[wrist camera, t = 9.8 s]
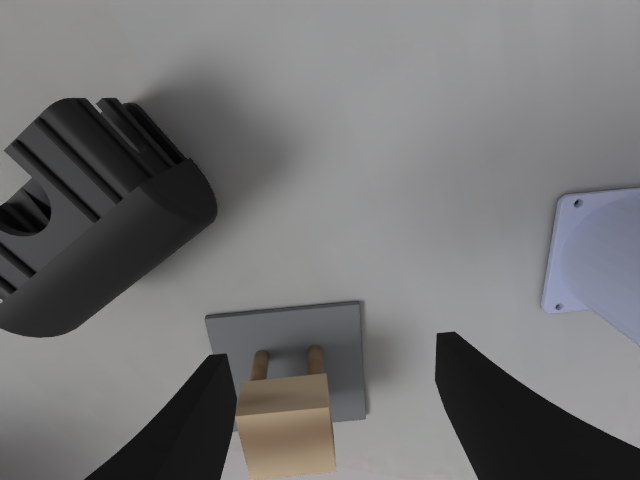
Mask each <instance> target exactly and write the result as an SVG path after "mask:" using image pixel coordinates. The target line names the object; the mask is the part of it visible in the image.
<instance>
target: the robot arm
mask: <svg viewBox="0 0 640 480" xmlns="http://www.w3.org/2000/svg"><path fill="white" fill-rule="evenodd" d="M576 200H578V203H577V204H576V205H575V206H574V203H575V201H576ZM557 304H559V305H558V306H557V307H556V305H557ZM541 308H542V310H543V311H544V312H546V313H548V314H552V313H563V312H573V311H584V310H592V311H593V312H594V313H596V314H597V315H598V316H600V317H601V318H602V319H604V320H605V321H606V322H608V323H609V324H610V325H612V326H613V327H614V328H616V329H617V330H618V331H620V332H621V333H622V334H623V335H625V336H626V337H627V338H629V339H630V340H631V341H633V342H634V343H635V344H637V345H638V346H639V347H640V187H639V188H629V189H618V190H608V191H598V192H587V193H577V194H567V195H564V196H562V197H561V198H560V199H559V200H558V203H557V209H556V215H555V222H554V228H553V234H552V240H551V246H550V252H549V259H548V265H547V271H546V277H545V283H544V290H543V296H542V302H541ZM435 382H436V385H437V388H438V391H439V394H440V397H441V400H442V403H443V405H444V408H445V411H446V413H447V415H448V417H449V419H450V421H451V423H452V425H453V428H454V430H455V432H456V434H457V436H458V438H459V440H460V442H461V444H462V446H463V448H464V451H465V453H466V455H467V457H468V459H469V461H470V463H471V465H472V467H473V469H474V471H475V473H476V475H477V478H478V480H640V449H639V448H637V447H635V446H632V445H630V444H628V443H626V442H624V441H622V440H620V439H618V438H616V437H613V436H611V435H609V434H607V433H605V432H604V431H602V430H600V429H598V428H596V427H594V426H592V425H590V424H588V423H586V422H584V421H582V420H580V419H579V418H577V417H575V416H573V415H571V414H570V413H568V412H566V411H565V410H563V409H561V408H560V407H558V406H556V405H555V404H553V403H551V402H549V401H548V400H546V399H545V398H543V397H541V396H540V395H538V394H537V393H535V392H534V391H532V390H531V389H529V388H528V387H526V386H525V385H523V384H522V383H521V382H519V381H518V380H516V379H515V378H513V377H512V376H511V375H509V374H508V373H506V372H505V371H504V370H502V369H501V368H500V367H498V366H497V365H496V364H495V363H493V362H492V361H491V360H489V359H488V358H487V357H486V356H484V355H483V354H482V353H481V352H479V351H478V350H477V349H476V348H474V347H473V346H472V345H471V344H469V343H468V342H467V341H466V340H464V339H463V338H462V337H461V336H460V335H458V334H457V333H456V332H446V333H437V341H436V368H435ZM236 406H237V395H236V391H235V386H234V382H233V378H232V373H231V369H230V365H229V361H228V356H227V353H224V354H214V355H209V356H208V357H207V358H206V359H205V360H204V361H203V363H202V364H201V365H200V366H199V367H198V368H197V370H196V371H195V372H194V373H193V374H192V376H191V377H190V378H189V379H188V380H187V382H186V383H185V384H184V385H183V386H182V387H181V389H180V390H179V391H178V392H177V393H176V394H175V395H174V396H173V398H172V399H171V400H170V401H169V402H168V403H167V404H166V405H165V406H164V408H163V409H162V410H161V411H160V412H159V413H158V414H157V415H156V416H155V417H154V418H153V419H152V420H151V421H150V422H149V423H148V424H147V425H146V426H145V427H144V428H143V429H142V430H141V431H140V432H139V433H138V434H137V435H136V436H135V437H134V438H133V439H132V440H131V441H129V442H128V443H127V444H126V445H125V446H124V447H123V448H122V449H121V450H119V451H118V452H117V453H116V454H115V455H114V456H113V457H111V458H110V459H109V460H108V461H106V462H105V463H104V464H103V465H102V466H100V467H99V468H98V469H97V470H95V471H94V472H93V473H92V474H90V475H89V476H88V477H87V478H85V479H84V480H220V479H221V475H222V471H223V467H224V463H225V460H226V456H227V452H228V448H229V444H230V440H231V436H232V432H233V428H234V421H235V414H236Z"/></svg>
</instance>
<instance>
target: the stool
mask: <svg viewBox="0 0 640 480" xmlns="http://www.w3.org/2000/svg"><path fill="white" fill-rule="evenodd" d="M269 357H270V355H269V353H268V352H267V351H265V350H259V351H257V352H256V353H255V357H254V362H253V366H252V371H251V376H250V381H245V382H242V387H241V391H240V395H239V400H238V404H237V408H236V414H235V420H236V424H237V428H238V432H239V436H240V440H241V444H242V448H243V452H244V456H245V460H246V464H247V467H248V471H249V476H250V479H251V480H259V479H269V478H279V477H290V476H299V475H310V474H320V473H330V472H336V461H335V447H334V434H333V426H332V417H331V408H330V400H329V391H328V383H327V374H326V373H325V374H324V371H323V353H322V348H321V347H320V346H319V345H311V346H310V347H309V348H308V375H305V376H295V377H285V378H275V379H266V378H267V371H268V364H269Z"/></svg>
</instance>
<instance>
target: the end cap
mask: <svg viewBox="0 0 640 480" xmlns="http://www.w3.org/2000/svg"><path fill="white" fill-rule="evenodd" d="M96 104H97V106H98V107H99V108H100V109H101V110H102V111H103V112H102V113H101V114H100V113H99V112H98V111H97V110H96V109H95V108H94V106H93V105H92V104H91V103H90V102H89V101H88V100H87V99H86V98H66V99H62V100H59V101H57V102H55V103H53V104H52V105H50V106H49V107H48V108H47V109H45V110H44V111H43V112H42V113H41V114H40V115H39V116H38V117H37V118H36V119H35V120H34V121H33V122H32V123H31V124H30V125H29V126H28V127H27V128H26V129H25V130H24V131H23V132H22V133H21V134H20V135H19V136H18V137H17V138H16V139H15V140H14V141H13V142H12V143H11V144H10V145H9V146H8V147H7V148H6V149H5V150H4V151H5V152H6V153H7V154H8V155H9V156H10V157H11V158H12V159H13V160H14V161H16V162H17V163H18V164H19V165H20V166H21V167H22V168H23V169H24V170H25V171H26V172H27V173H28V174H30V175H31V176H32V178H31V179H30V180H29V181H28V182H27V183H26V184H25V185H24V186H23V187H22V188H21V189H20V190H19V191H18V192H16V193H15V194H14V195H13V196H12V197H11V198H10V199H9V200H8V201H7V202H6V203H4V204H2V205H1V206H0V298H1V299H2V300H3V302H2V303H1V304H0V328H1V329H4V330H6V331H8V332H11V333H14V334H18V335H22V336H28V337H38V338H42V337H54V336H59V335H63V334H66V333H68V332H70V331H72V330H74V329H76V328H78V327H79V326H80V325H81V324H83V323H84V322H85V321H87V320H88V319H89V318H90V317H92V316H93V315H94V314H96V313H97V312H98V311H99V310H101V309H102V308H103V307H105V306H106V305H107V304H108V303H110V302H111V301H112V300H114V299H115V298H116V297H117V296H119V295H120V294H121V293H123V292H124V291H125V290H126V289H128V288H129V287H130V286H132V285H133V284H134V283H135V282H137V281H138V280H139V279H141V278H142V277H143V276H144V275H146V274H147V273H148V272H149V271H151V270H152V269H153V268H155V267H156V266H157V265H158V264H160V263H161V262H162V261H164V260H165V259H166V258H167V257H169V256H170V255H171V254H173V253H174V252H175V251H176V250H178V249H179V248H180V247H182V246H183V245H184V244H185V243H187V242H188V241H189V240H191V239H192V238H193V237H194V236H196V235H197V234H198V233H200V232H201V231H202V230H203V229H205V228H206V227H207V226H209V225H210V224H211V223H212V222H214V220H215V218H216V216H217V202H216V198H215V196H214V193H213V191H212V189H211V187H210V185H209V183H208V181H207V179H206V178H205V176H204V175H203V173H202V172H201V171H200V169H199V168H198V166H197V165H196V164H195V163H194V162H193V160H192V159H191V158H189V159H186V158H185V157H184V155H183V154H182V153H181V152H180V151H179V150H178V149H177V147H176V146H175V145H174V144H173V143H172V142H171V141H170V140H169V138H168V137H167V136H166V135H165V134H164V133H163V132H162V131H161V129H160V128H159V127H158V126H157V125H156V124H155V123H154V122H153V120H152V119H151V118H150V117H149V116H148V115H147V114H146V113H145V111H144V110H143V109H142V108H141V107H139V106H138V105H137V104H134V103H124V104H121V103H120V102H119V100H118V99H117V98H102V99H101V100H100V101H99V102H97V103H96Z"/></svg>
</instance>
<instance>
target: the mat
mask: <svg viewBox="0 0 640 480" xmlns="http://www.w3.org/2000/svg"><path fill="white" fill-rule="evenodd" d="M205 323H206V327H207V331H208V335H209V339H210V343H211V347H212V351H213V355H214V354H224V353H227V356H228V361H229V365H230V369H231V373H232V378H233V382H234V386H235V391H236V395H237V404H238V400H239V395H240V391H241V387H242V382H245V381H250V376H251V371H252V366H253V362H254V357H255V353H256V352H257V351H259V350H265V351H267V352H268V353H269V355H270V357H269V364H268V371H267V378H266V379H275V378H285V377H295V376H305V375H308V348H309V347H310V346H311V345H319V346H320V347H321V348H322V353H323V371H324V374H325V373H326V374H327V383H328V391H329V400H330V408H331V417H332V422H342V421H353V420H363V419H366V413H365V396H364V378H363V361H362V344H361V327H360V310H359V302H358V301H354V302H344V303H333V304H323V305H312V306H302V307H291V308H281V309H271V310H260V311H250V312H239V313H229V314H218V315H208V316H206V317H205ZM236 408H237V406H236ZM235 431H238V428H237V424H236V420H235V421H234V428H233V432H235Z"/></svg>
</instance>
